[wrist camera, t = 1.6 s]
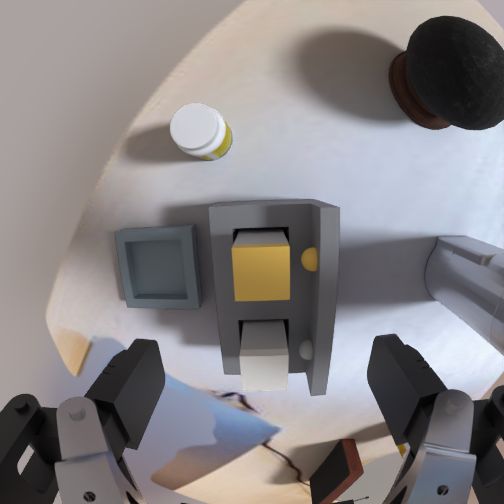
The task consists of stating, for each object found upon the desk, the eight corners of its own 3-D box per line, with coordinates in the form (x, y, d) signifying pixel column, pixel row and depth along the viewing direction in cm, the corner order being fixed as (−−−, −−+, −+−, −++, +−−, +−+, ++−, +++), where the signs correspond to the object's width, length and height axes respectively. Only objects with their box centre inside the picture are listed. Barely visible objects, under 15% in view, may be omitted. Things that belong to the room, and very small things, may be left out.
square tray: (122, 229, 31) (114, 232, 29) (195, 224, 31) (190, 227, 29) (133, 301, 33) (127, 307, 31) (202, 302, 33) (199, 309, 31)
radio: (322, 478, 43) (330, 531, 29) (309, 478, 43) (315, 533, 29) (360, 431, 39) (381, 495, 24) (345, 431, 39) (364, 498, 24)
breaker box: (218, 202, 30) (198, 211, 20) (314, 199, 29) (339, 207, 20) (229, 345, 34) (219, 398, 25) (311, 343, 34) (325, 394, 24)
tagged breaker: (240, 229, 27) (231, 248, 19) (281, 227, 27) (289, 246, 19) (242, 268, 28) (235, 301, 20) (282, 267, 28) (289, 299, 20)
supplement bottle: (225, 114, 28) (213, 90, 19) (238, 152, 29) (229, 141, 20) (185, 128, 28) (159, 111, 20) (196, 166, 29) (173, 161, 21)
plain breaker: (244, 313, 29) (239, 356, 21) (282, 312, 29) (288, 355, 21) (246, 344, 30) (242, 391, 22) (282, 343, 30) (287, 389, 22)
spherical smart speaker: (380, 120, 27) (457, 86, 12) (379, 33, 24) (433, -25, 9) (461, 149, 27) (542, 145, 12) (457, 67, 24) (523, 39, 9)
